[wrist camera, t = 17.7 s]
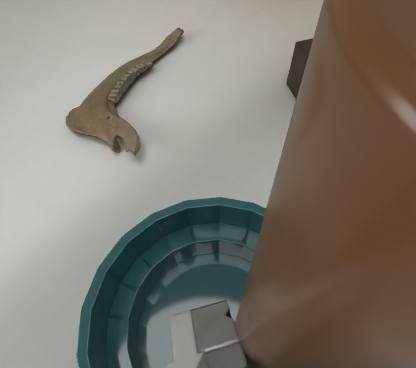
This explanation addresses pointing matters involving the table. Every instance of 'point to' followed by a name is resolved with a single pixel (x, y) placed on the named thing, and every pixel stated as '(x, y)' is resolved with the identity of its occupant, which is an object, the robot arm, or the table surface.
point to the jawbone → (110, 94)
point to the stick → (342, 204)
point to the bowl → (166, 280)
